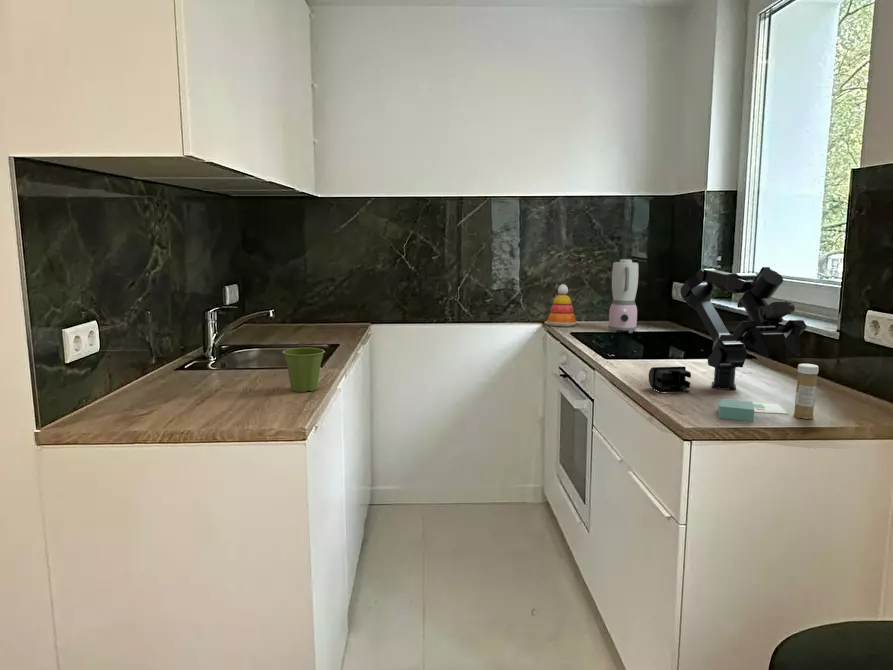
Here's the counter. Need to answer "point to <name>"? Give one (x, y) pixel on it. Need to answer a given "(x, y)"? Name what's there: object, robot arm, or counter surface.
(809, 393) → the sprinkles bottle
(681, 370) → the end cap
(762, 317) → the robot arm
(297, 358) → the plant pot
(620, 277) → the blender
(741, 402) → the brick
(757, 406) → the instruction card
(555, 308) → the stacking toy
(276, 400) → the counter surface
